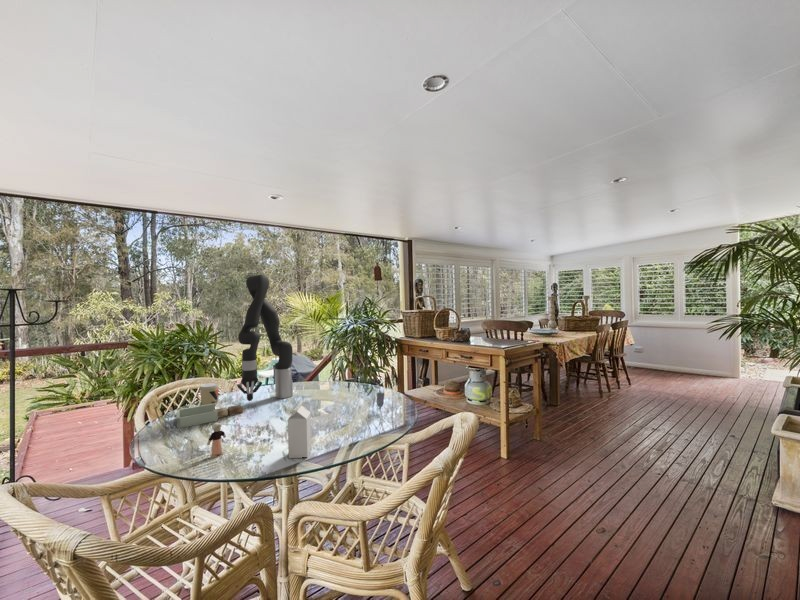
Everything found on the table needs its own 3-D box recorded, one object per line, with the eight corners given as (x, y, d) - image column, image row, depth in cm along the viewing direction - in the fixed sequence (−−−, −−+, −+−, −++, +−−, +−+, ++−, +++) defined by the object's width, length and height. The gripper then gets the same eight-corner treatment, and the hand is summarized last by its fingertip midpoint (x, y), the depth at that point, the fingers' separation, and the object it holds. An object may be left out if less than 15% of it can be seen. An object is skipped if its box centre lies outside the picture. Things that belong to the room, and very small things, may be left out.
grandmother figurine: (214, 459, 133) (213, 426, 133) (206, 458, 134) (204, 425, 134) (229, 450, 141) (228, 419, 140) (221, 449, 142) (220, 418, 141)
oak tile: (226, 413, 186) (226, 407, 186) (227, 416, 181) (227, 410, 181) (213, 415, 183) (213, 409, 183) (214, 418, 178) (214, 412, 178)
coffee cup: (213, 408, 192) (212, 387, 192) (196, 409, 192) (195, 387, 192) (222, 403, 201) (221, 382, 201) (206, 403, 202) (205, 382, 201)
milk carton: (311, 449, 140) (310, 402, 140) (307, 458, 133) (306, 408, 133) (293, 450, 140) (292, 402, 140) (288, 458, 133) (287, 408, 132)
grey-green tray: (214, 411, 187) (214, 403, 187) (217, 420, 174) (217, 411, 174) (177, 418, 178) (176, 409, 178) (177, 428, 165) (176, 418, 165)
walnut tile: (240, 410, 190) (240, 404, 190) (242, 413, 185) (242, 407, 185) (228, 412, 186) (228, 407, 186) (230, 415, 181) (230, 410, 181)
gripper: (261, 366, 196) (261, 397, 196) (235, 368, 189) (235, 400, 189) (263, 368, 190) (264, 400, 190) (236, 371, 183) (237, 404, 183)
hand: (249, 400), depth 190 cm, fingers closed
